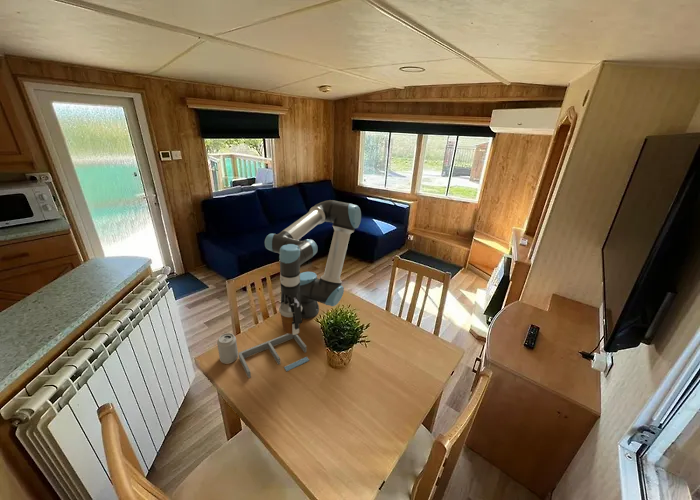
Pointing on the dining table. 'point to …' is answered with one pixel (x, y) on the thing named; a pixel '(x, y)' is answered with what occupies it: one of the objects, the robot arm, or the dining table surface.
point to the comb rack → (269, 346)
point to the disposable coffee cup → (287, 317)
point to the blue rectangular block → (296, 364)
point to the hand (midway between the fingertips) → (291, 327)
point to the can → (227, 348)
